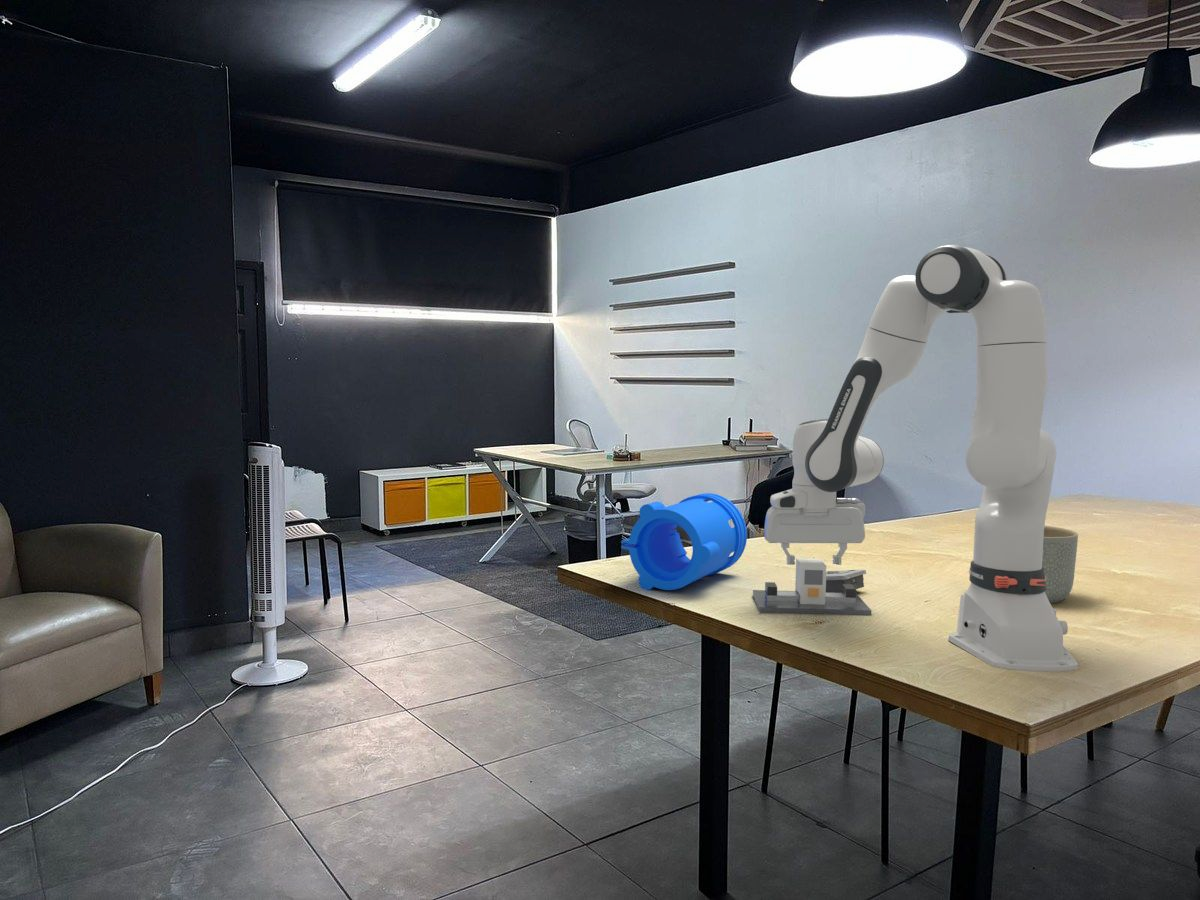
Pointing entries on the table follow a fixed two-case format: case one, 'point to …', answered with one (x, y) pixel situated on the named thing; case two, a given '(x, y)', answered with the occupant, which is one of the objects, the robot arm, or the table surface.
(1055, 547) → the planter
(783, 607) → the din board
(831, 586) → the electrical switch
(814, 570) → the din module
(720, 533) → the tube
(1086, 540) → the table surface
